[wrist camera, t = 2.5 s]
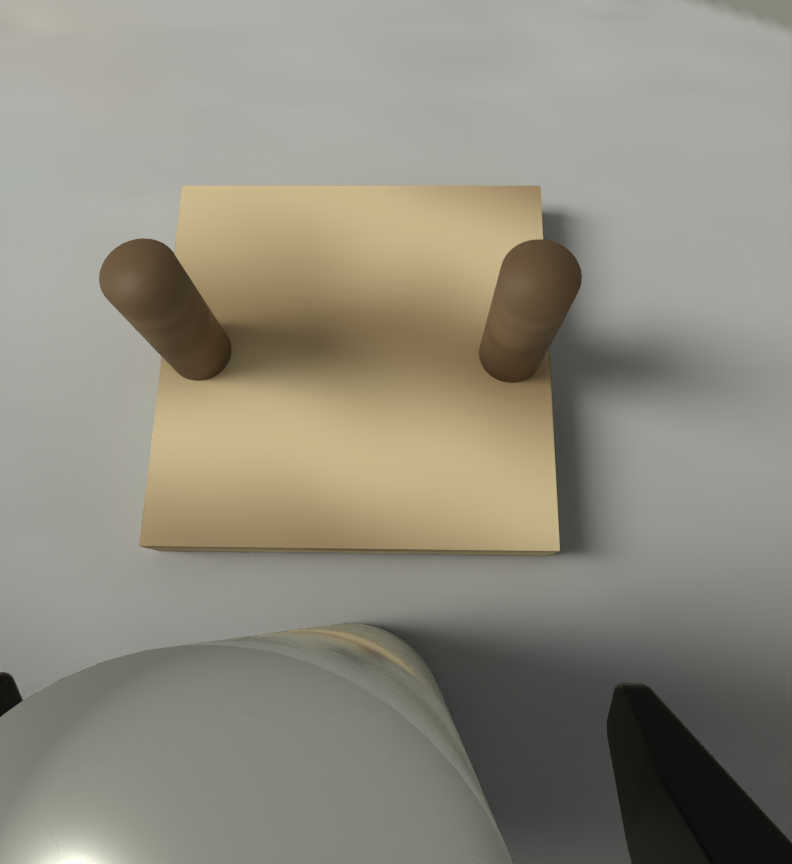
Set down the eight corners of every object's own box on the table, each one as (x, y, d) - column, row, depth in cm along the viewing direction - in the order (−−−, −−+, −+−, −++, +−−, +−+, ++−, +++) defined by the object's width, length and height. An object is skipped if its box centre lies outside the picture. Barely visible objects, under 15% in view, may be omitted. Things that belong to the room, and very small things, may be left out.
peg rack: (549, 555, 16) (610, 529, 11) (157, 550, 17) (50, 523, 12) (532, 211, 19) (575, 69, 14) (195, 211, 19) (121, 71, 14)
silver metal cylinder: (484, 754, 15) (717, 1186, 4) (317, 876, 15) (-21, 1845, 3) (377, 586, 16) (305, 519, 5) (218, 693, 16) (-303, 909, 4)
